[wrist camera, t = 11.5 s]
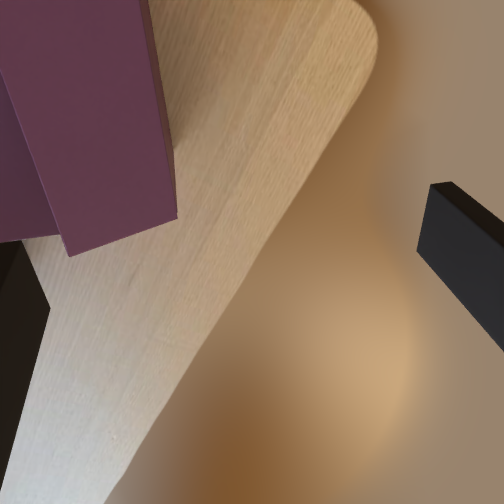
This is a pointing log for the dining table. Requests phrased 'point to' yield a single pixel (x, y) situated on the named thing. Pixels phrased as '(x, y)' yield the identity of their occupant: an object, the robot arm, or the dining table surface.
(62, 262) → the dining table surface
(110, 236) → the flap
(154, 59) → the cardboard box
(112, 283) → the dining table surface
